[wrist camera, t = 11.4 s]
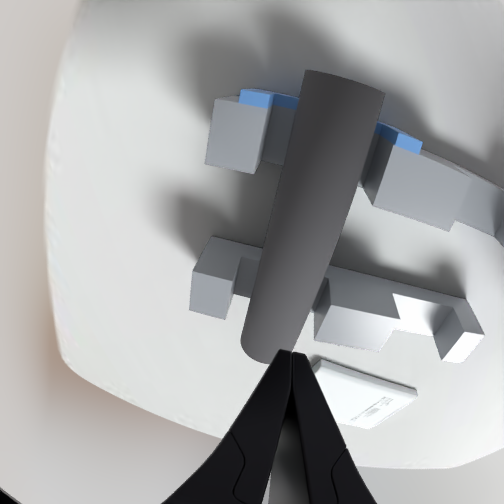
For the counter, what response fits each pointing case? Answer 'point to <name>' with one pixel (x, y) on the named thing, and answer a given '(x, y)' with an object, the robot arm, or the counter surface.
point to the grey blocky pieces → (381, 196)
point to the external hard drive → (360, 395)
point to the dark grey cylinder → (309, 207)
